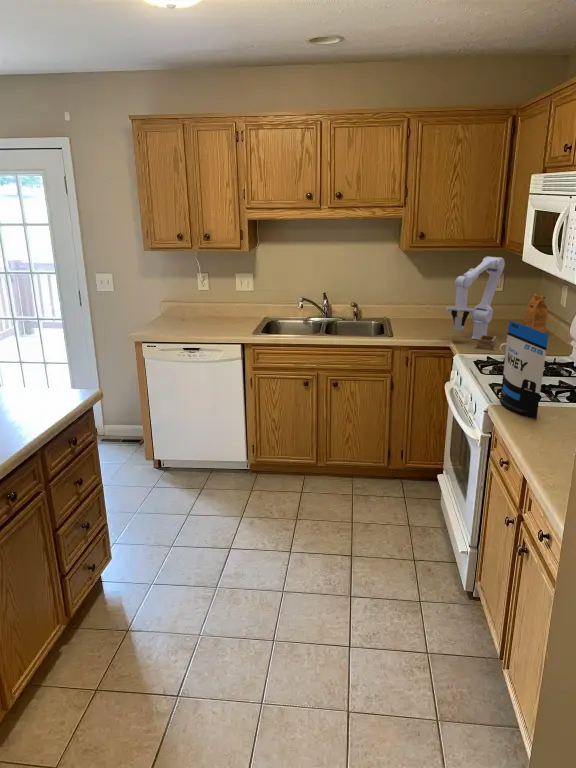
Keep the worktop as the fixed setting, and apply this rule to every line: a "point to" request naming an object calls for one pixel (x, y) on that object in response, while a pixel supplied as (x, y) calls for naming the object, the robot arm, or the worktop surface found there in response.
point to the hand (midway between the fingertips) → (459, 325)
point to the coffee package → (536, 314)
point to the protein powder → (523, 369)
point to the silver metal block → (458, 323)
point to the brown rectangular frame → (486, 342)
